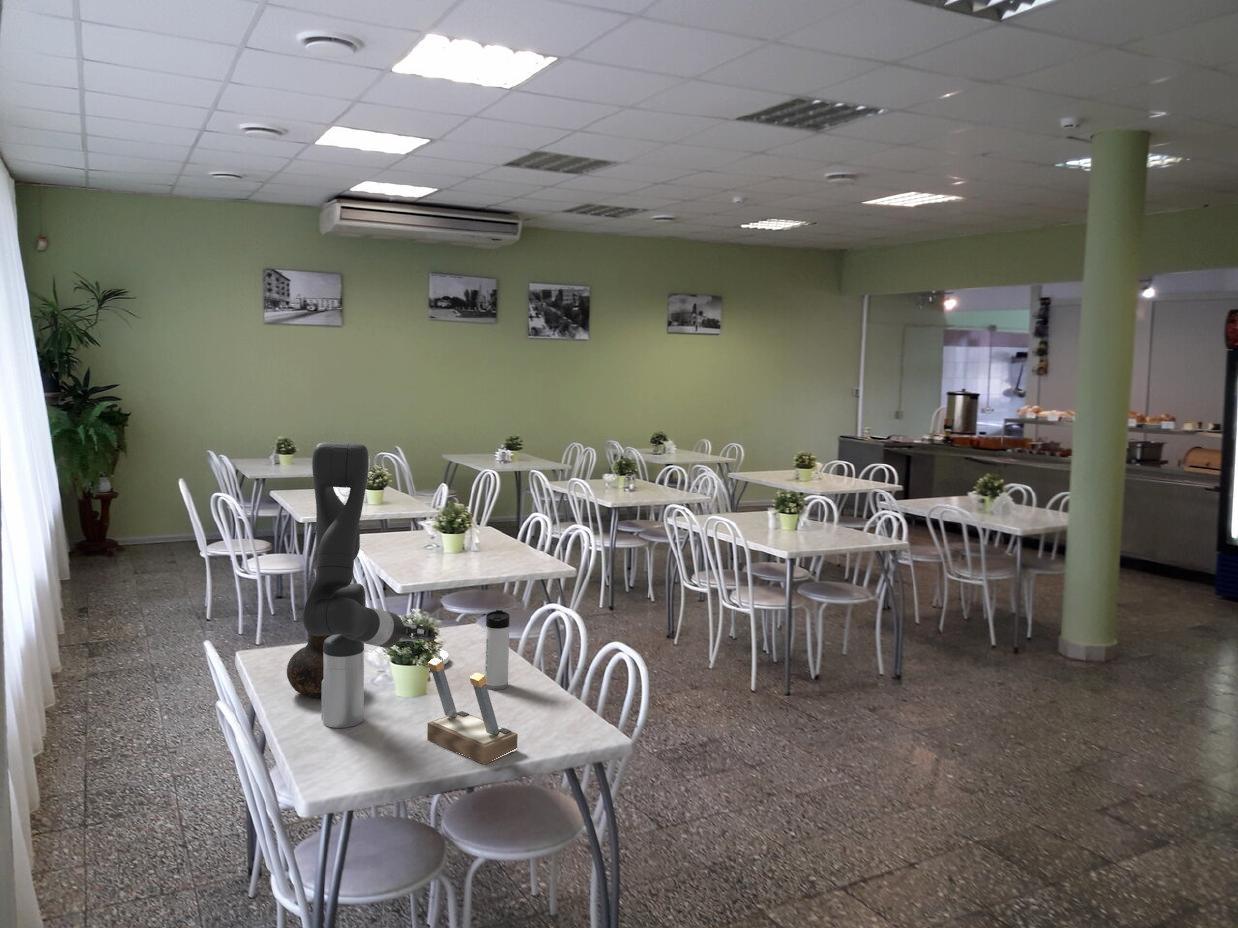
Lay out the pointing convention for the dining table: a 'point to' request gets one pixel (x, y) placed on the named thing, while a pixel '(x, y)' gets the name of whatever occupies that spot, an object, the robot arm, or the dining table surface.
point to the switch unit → (471, 737)
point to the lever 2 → (484, 703)
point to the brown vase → (308, 668)
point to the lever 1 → (443, 687)
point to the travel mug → (497, 650)
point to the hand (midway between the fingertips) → (416, 636)
